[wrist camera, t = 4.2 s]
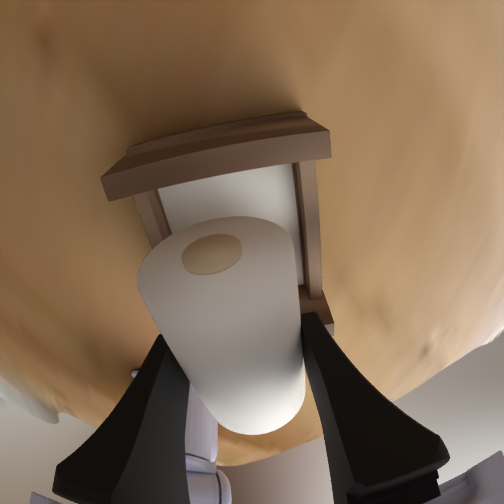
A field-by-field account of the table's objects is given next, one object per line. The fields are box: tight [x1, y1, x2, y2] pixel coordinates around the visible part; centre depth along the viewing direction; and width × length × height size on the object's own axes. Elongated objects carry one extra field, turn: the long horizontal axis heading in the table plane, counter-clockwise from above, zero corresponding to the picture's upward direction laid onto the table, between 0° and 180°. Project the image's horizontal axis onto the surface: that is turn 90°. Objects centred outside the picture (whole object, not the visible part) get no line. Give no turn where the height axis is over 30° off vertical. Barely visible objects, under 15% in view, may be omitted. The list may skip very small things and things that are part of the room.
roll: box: [137, 216, 305, 435], centre depth 11 cm, size 8×5×5 cm, turn 9°
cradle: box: [100, 111, 334, 336], centre depth 17 cm, size 13×10×5 cm
